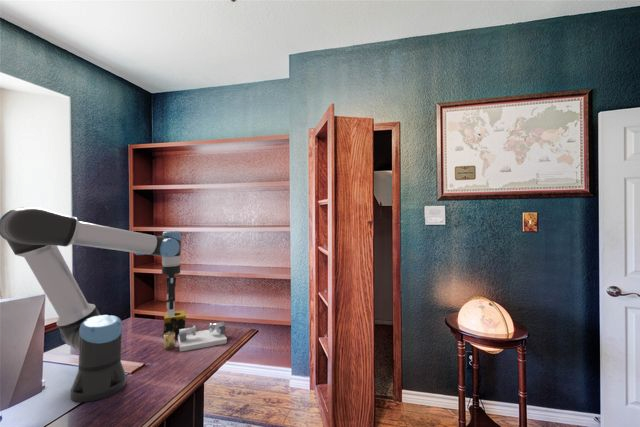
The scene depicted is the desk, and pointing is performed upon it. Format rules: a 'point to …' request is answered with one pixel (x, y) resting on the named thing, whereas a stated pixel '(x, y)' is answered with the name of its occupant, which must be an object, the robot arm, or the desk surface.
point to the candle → (174, 322)
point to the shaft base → (198, 338)
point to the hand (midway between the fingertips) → (170, 312)
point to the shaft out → (217, 327)
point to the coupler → (169, 340)
